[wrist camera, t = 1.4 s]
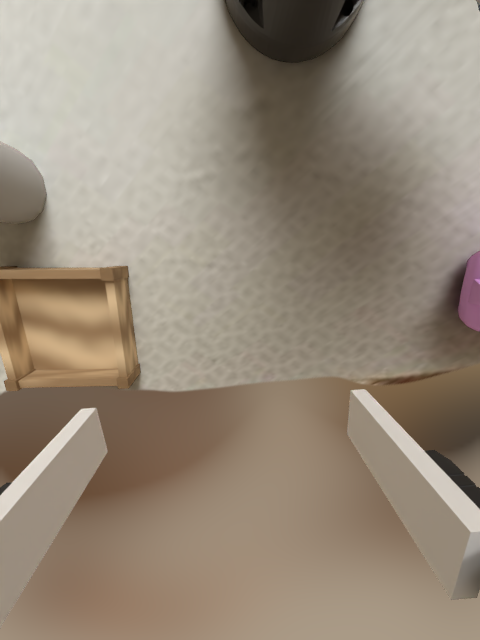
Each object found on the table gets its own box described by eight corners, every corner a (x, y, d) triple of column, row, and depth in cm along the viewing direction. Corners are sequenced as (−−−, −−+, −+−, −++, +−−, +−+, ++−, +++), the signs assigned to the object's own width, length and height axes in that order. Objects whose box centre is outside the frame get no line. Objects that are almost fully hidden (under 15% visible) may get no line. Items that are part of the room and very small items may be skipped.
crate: (5, 266, 31) (-30, 268, 27) (127, 266, 32) (111, 268, 28) (33, 374, 36) (6, 391, 31) (140, 372, 36) (128, 388, 32)
